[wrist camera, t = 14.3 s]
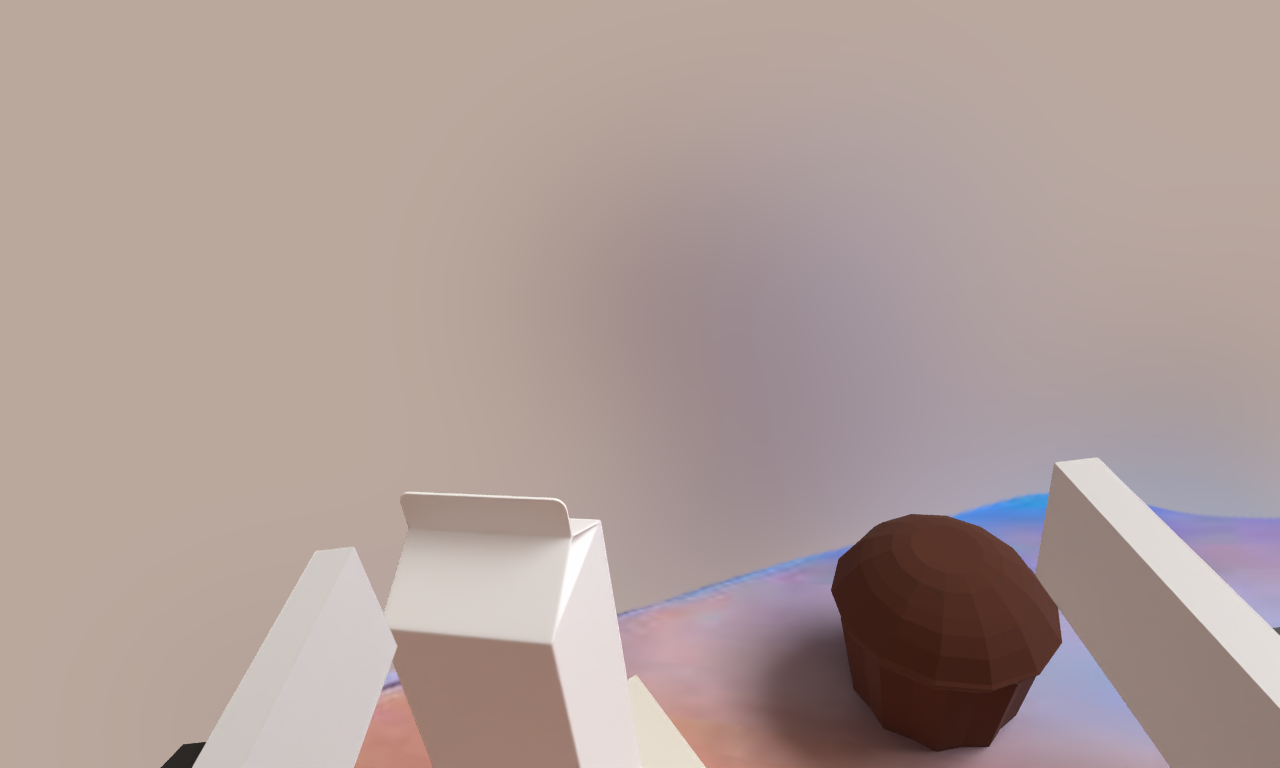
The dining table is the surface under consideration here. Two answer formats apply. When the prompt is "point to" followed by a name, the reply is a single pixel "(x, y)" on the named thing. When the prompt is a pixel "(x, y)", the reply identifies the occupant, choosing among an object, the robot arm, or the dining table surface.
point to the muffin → (942, 628)
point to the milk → (509, 635)
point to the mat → (658, 733)
